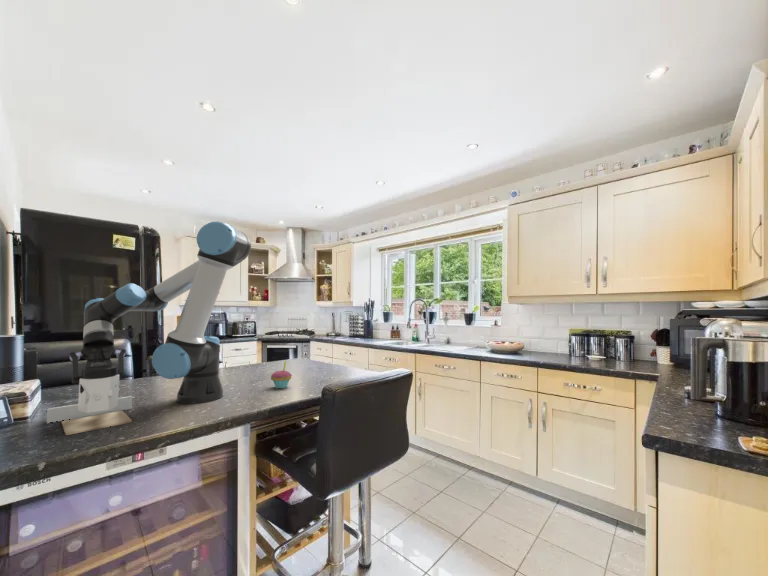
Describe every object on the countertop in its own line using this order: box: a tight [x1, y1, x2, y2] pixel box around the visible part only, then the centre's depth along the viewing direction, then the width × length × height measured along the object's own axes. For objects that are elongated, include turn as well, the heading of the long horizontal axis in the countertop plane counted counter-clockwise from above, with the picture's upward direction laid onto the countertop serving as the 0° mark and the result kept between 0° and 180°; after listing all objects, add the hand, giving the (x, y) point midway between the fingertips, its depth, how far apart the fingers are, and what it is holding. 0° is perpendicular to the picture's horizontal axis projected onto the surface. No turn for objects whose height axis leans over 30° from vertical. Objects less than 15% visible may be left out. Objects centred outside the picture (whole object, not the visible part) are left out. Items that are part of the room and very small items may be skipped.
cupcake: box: [270, 360, 293, 389], centre depth 142 cm, size 9×8×12 cm
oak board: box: [61, 410, 133, 436], centre depth 97 cm, size 14×14×1 cm
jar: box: [77, 364, 120, 413], centre depth 97 cm, size 9×8×12 cm
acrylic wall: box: [46, 395, 133, 424], centre depth 104 cm, size 20×1×4 cm, turn 138°
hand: (98, 399), depth 94 cm, fingers closed on jar, 4 cm apart
